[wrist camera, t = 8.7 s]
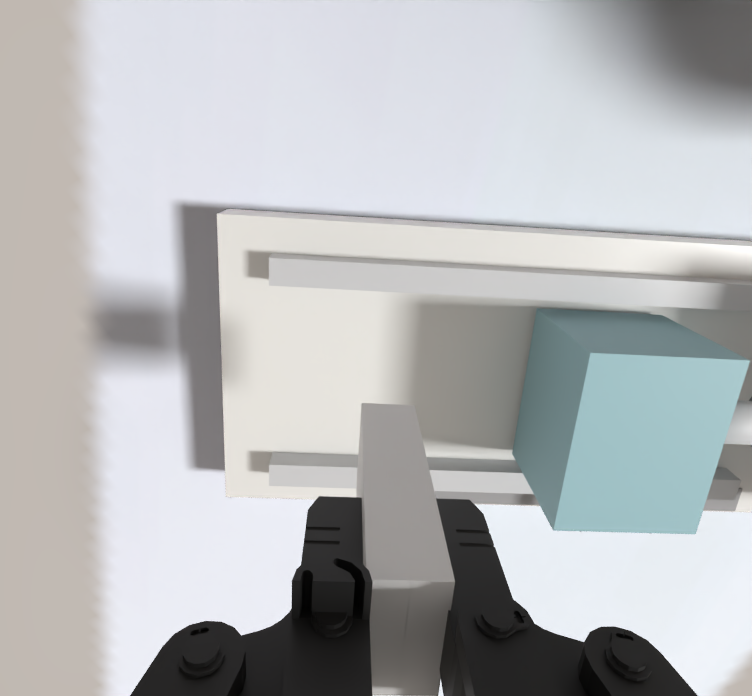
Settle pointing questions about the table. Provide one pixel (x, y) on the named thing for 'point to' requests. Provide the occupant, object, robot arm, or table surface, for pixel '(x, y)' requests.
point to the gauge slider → (626, 420)
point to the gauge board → (434, 339)
